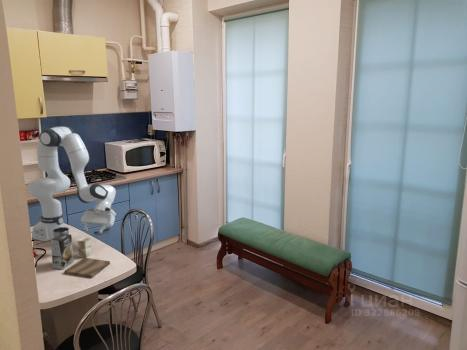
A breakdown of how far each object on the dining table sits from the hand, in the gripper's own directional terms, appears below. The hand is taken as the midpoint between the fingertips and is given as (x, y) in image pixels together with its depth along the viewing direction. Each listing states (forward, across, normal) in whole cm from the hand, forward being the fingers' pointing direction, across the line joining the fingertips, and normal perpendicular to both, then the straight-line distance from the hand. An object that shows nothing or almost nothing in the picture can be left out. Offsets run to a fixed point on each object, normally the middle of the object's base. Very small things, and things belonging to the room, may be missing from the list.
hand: (92, 231), depth 211 cm
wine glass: (+15, -13, +1) cm, 20 cm away
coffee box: (+23, -4, -7) cm, 25 cm away
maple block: (+14, 0, +2) cm, 14 cm away
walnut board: (+23, +11, -7) cm, 27 cm away
